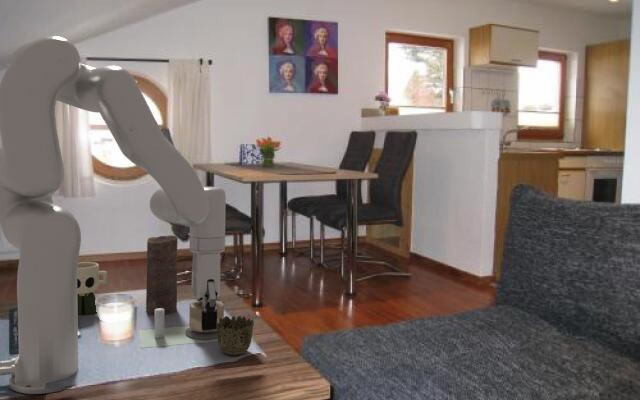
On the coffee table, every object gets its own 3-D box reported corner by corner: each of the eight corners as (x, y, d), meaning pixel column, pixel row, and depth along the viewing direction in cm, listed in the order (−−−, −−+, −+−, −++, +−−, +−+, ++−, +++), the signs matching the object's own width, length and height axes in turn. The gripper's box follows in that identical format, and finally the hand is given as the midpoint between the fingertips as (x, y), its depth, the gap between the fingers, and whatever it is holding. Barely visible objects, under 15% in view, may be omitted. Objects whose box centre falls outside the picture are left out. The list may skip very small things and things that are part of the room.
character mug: (58, 324, 129) (57, 269, 127) (59, 315, 135) (58, 263, 134) (108, 319, 133) (107, 266, 132) (106, 311, 139) (106, 260, 138)
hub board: (141, 355, 112) (141, 316, 111) (138, 336, 122) (138, 301, 121) (231, 346, 118) (232, 309, 117) (222, 329, 128) (222, 296, 128)
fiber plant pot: (245, 368, 107) (246, 328, 106) (209, 364, 108) (210, 325, 107) (257, 354, 114) (258, 317, 113) (224, 351, 115) (224, 313, 114)
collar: (192, 333, 117) (192, 310, 116) (188, 322, 123) (188, 301, 123) (225, 330, 119) (225, 307, 119) (219, 320, 126) (219, 298, 125)
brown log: (178, 319, 134) (179, 238, 132) (147, 322, 132) (147, 239, 130) (174, 310, 141) (175, 233, 139) (144, 313, 139) (144, 234, 137)
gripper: (184, 237, 126) (184, 313, 128) (195, 252, 110) (194, 338, 112) (217, 236, 129) (216, 311, 131) (232, 250, 113) (231, 335, 115)
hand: (206, 323), depth 121 cm, fingers closed on collar, 7 cm apart
